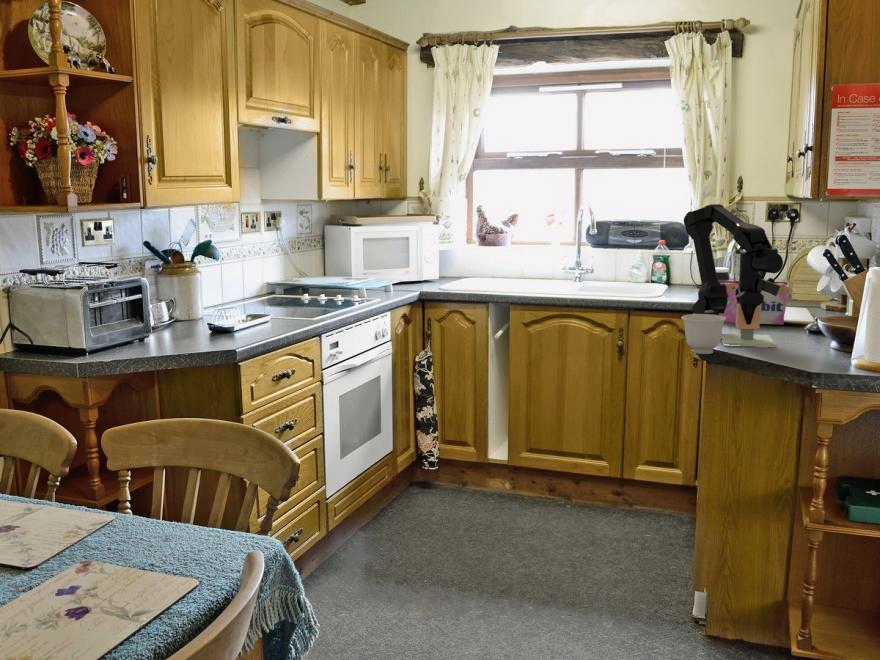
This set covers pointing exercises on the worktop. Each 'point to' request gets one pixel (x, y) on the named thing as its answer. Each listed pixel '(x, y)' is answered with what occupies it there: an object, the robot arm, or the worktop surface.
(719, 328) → the teacup
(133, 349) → the worktop surface
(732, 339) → the post base
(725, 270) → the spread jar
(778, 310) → the gum box
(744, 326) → the salmon pink cube
